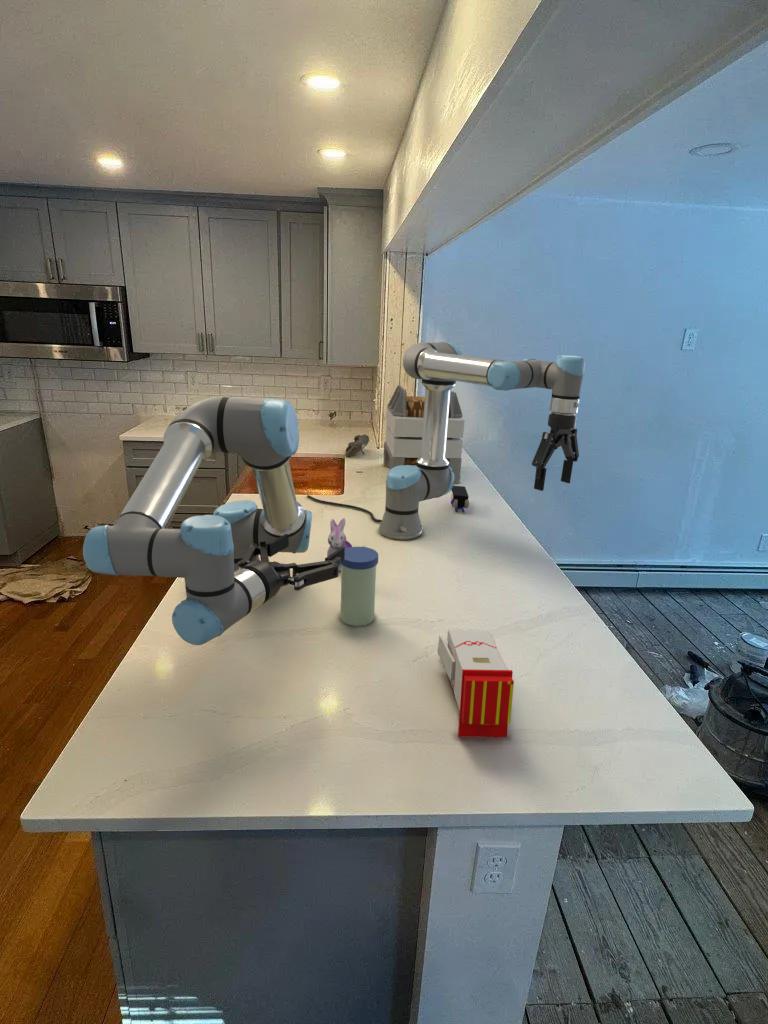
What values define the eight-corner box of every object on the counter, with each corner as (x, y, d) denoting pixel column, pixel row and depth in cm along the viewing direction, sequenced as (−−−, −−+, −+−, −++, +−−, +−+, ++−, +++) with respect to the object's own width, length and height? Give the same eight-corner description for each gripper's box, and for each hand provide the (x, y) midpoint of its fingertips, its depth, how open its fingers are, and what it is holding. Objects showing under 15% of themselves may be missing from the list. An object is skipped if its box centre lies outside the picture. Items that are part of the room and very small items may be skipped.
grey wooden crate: (382, 463, 289) (386, 382, 275) (445, 464, 293) (451, 384, 279) (390, 482, 257) (394, 392, 243) (460, 483, 261) (468, 394, 247)
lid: (350, 572, 134) (350, 564, 133) (333, 557, 141) (333, 550, 141) (384, 565, 138) (385, 558, 138) (366, 551, 146) (367, 544, 145)
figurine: (332, 575, 167) (332, 527, 162) (319, 561, 175) (319, 516, 170) (361, 569, 171) (362, 523, 166) (347, 556, 179) (348, 512, 174)
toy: (488, 613, 130) (523, 677, 101) (484, 667, 133) (517, 744, 104) (435, 612, 130) (455, 676, 101) (432, 666, 133) (451, 743, 103)
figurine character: (469, 517, 223) (463, 501, 236) (471, 500, 219) (465, 484, 233) (452, 516, 222) (447, 500, 236) (454, 499, 219) (449, 483, 232)
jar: (349, 629, 140) (351, 565, 134) (335, 613, 147) (336, 552, 141) (380, 621, 144) (382, 559, 138) (364, 606, 151) (366, 546, 145)
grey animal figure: (345, 440, 315) (366, 425, 310) (356, 453, 318) (377, 439, 313) (338, 454, 296) (361, 438, 291) (350, 468, 298) (372, 452, 293)
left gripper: (197, 589, 106) (265, 550, 124) (310, 624, 96) (367, 576, 115) (194, 553, 104) (264, 518, 122) (310, 584, 94) (368, 541, 112)
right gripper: (548, 419, 148) (537, 496, 155) (598, 411, 163) (586, 482, 171) (525, 414, 153) (515, 489, 160) (575, 407, 169) (564, 476, 176)
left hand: (314, 546), depth 118 cm, fingers open, 13 cm apart
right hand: (552, 485), depth 166 cm, fingers open, 13 cm apart
